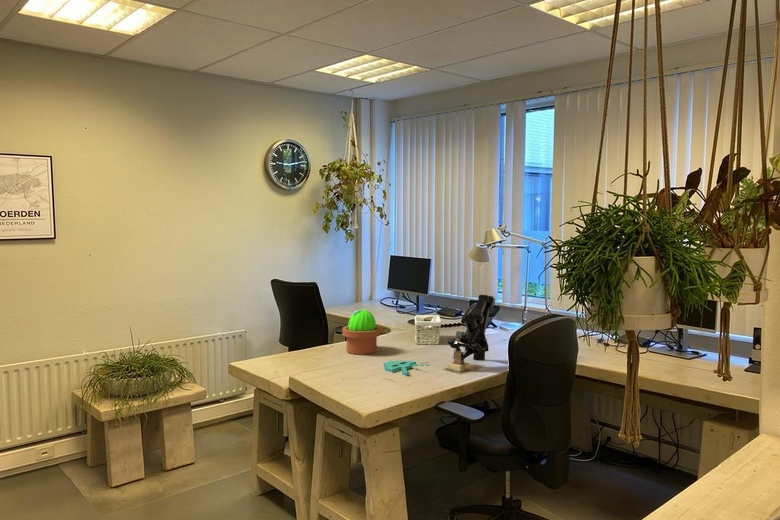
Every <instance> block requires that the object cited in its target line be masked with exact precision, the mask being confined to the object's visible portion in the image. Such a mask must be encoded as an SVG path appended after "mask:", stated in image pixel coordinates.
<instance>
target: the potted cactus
mask: <svg viewBox="0 0 780 520" xmlns="http://www.w3.org/2000/svg"><path fill="white" fill-rule="evenodd" d="M374 316H375V315H373V313H372V312H370V311H369V310H367V309H357V310H355V311H354V312H352V314H351V315H350V317H349V321H348V323H347V324H348V325H346V326H343V327H342V336H343V337H345V338H346V344H345V345H346V348H345V349H346V352H347V353H348V354H351V355H363V356H364V355H371V354H374V353H376V352H377V350H378V349H377V346H378V344H377V340H378V339H377V338H378V337H380V336H381V335H382V334H381V333H382V332H381V329H382V328H381V326H378V325H377V324H376V323H377V321H376V319H375V317H374Z"/></svg>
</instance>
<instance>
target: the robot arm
mask: <svg viewBox="0 0 780 520" xmlns="http://www.w3.org/2000/svg"><path fill="white" fill-rule="evenodd" d="M495 304H496V298H495V297H494V296H493V295H492V296H491V295H488V294H479V295H478V299H477V302H476V305H475V306H474V309H472V310H471V311H470V312H469V313H468V314H467V315H465V316H464V317H463V322H464V325H465V327H466V331H465V332H464V331H460V330H457V331H456V333H455V338H454V337H449V338H448V339H447V341H446V342H447V344H448V345H449V346H450V348H452V349H453V353H454V352H455V351H461V352H463V354H462V356H461V359H460V360H461V361H462V360H463V359H464V360H465V359H466V358H467V357H470V356H471V355H473V357H472V358H473V359H472V360H474V361H484V360H486V353H487V352H489V343H488V340H487V336H486V330H487V325H488V319H489V315H490V314H489V313H490V312H491V311H492V310H493V308H494V305H495ZM457 338H458V340H457ZM461 347H462V348H464V351H462V349H461ZM452 359H454V354H453V356H452Z"/></svg>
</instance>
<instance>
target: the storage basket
mask: <svg viewBox="0 0 780 520" xmlns="http://www.w3.org/2000/svg"><path fill="white" fill-rule="evenodd" d="M414 326H415V327H414V328H415V336H414V339H415V344H417V345H439V344H440V336H441V327H442V319H441V316H440V315H439V314H433V315H432V314H416V315H415V316H414Z"/></svg>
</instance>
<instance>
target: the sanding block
mask: <svg viewBox="0 0 780 520" xmlns="http://www.w3.org/2000/svg"><path fill="white" fill-rule="evenodd" d="M463 352H464V351H462V350H461V351H455V352H454V351H453V355H454V358H453V362H450V363H448V367H447V368H448V370H452V371H456V372H462V371H466V370H469V364H470V363H468V362H465V359H463V360H462V361H461V360H460V359H461V356H462V354H463Z"/></svg>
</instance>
